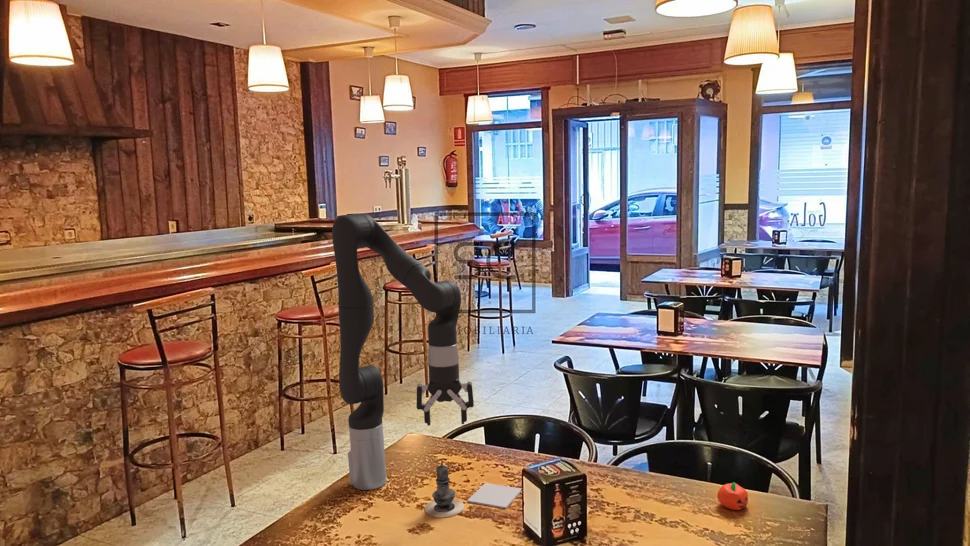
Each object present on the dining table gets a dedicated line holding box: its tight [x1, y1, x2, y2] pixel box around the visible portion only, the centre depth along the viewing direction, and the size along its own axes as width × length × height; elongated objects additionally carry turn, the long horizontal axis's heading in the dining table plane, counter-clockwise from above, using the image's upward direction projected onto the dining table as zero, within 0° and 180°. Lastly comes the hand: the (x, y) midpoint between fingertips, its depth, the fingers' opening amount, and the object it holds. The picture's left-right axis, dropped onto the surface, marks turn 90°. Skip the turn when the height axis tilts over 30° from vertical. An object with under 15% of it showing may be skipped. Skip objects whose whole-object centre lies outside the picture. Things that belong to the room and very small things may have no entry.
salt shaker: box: [431, 462, 456, 512], centre depth 171 cm, size 6×6×12 cm
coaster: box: [424, 498, 465, 519], centre depth 172 cm, size 10×10×1 cm
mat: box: [466, 482, 522, 509], centre depth 177 cm, size 11×11×1 cm
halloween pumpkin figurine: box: [716, 481, 749, 511], centre depth 165 cm, size 7×8×6 cm
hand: (446, 423), depth 170 cm, fingers open, 8 cm apart
